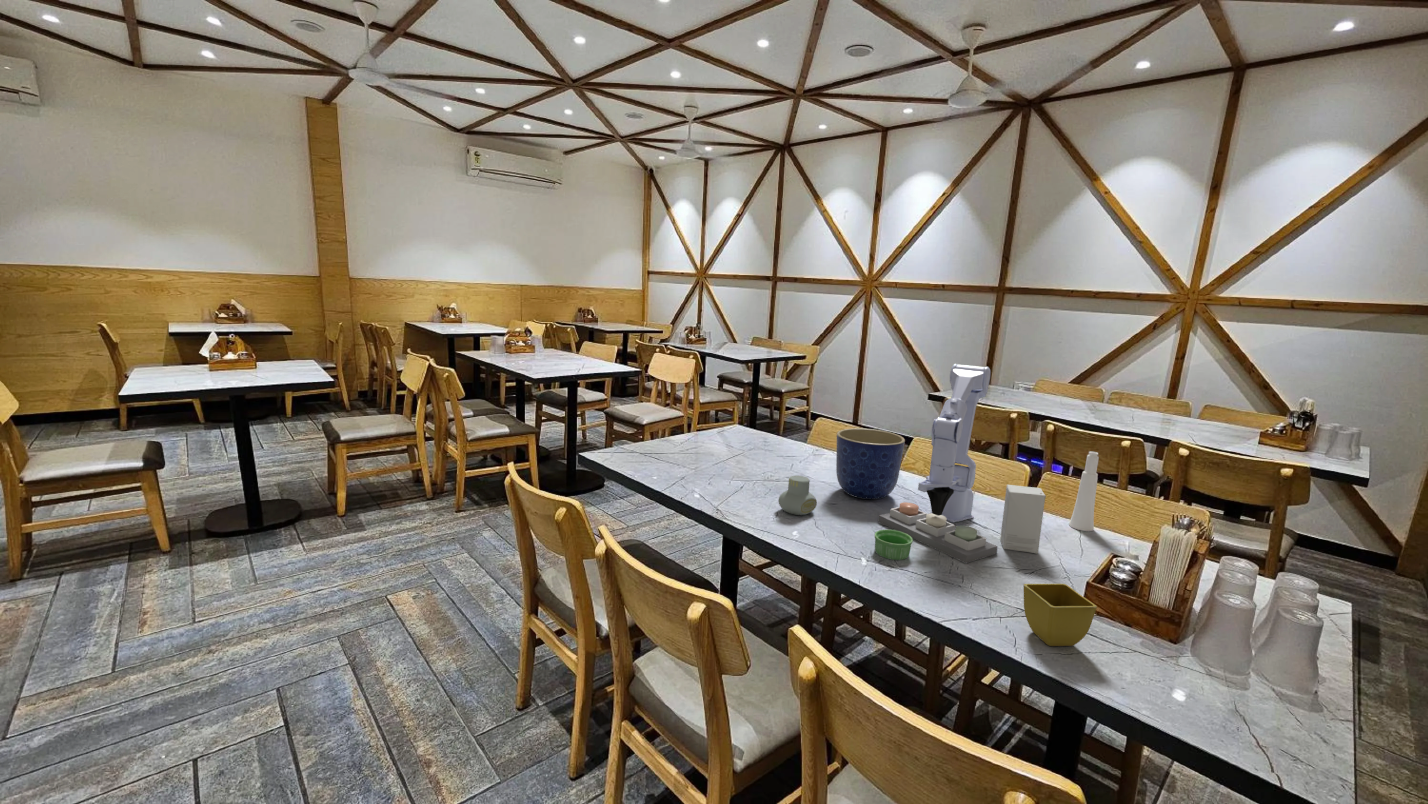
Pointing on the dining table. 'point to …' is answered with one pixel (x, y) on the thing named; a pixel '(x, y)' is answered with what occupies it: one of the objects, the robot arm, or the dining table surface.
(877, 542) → the ramekin
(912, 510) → the terracotta button
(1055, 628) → the flower pot
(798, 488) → the air freshener
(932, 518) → the cream button
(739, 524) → the dining table surface
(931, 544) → the button panel
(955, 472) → the robot arm
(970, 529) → the sage button
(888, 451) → the planter
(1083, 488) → the cosmetic bottle
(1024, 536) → the skincare box
